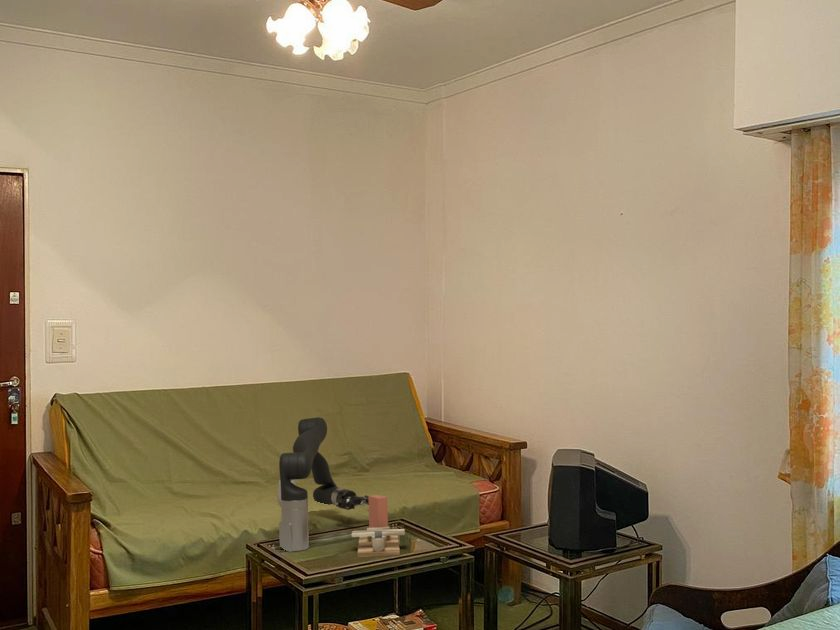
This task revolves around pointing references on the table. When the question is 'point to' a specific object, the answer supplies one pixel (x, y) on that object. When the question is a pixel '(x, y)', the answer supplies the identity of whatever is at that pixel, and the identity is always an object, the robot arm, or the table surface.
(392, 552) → the jig
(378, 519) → the terracotta rectangular block
